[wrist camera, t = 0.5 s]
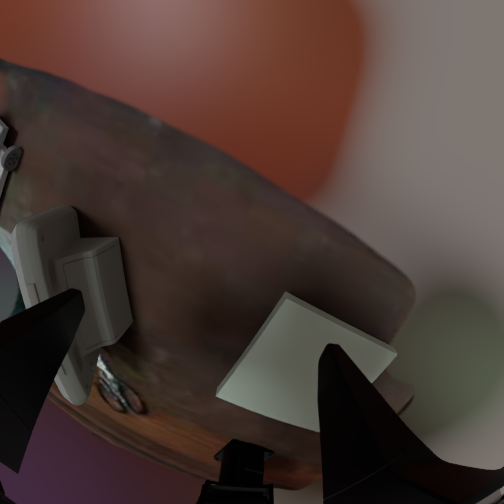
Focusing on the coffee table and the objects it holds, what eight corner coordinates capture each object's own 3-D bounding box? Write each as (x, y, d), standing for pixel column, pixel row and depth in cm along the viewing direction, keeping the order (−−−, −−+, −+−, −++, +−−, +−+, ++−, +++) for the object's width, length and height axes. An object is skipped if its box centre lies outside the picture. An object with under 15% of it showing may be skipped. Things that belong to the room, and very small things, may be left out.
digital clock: (64, 195, 23) (-16, 216, 13) (139, 207, 23) (62, 237, 13) (71, 332, 28) (21, 383, 17) (135, 355, 28) (93, 422, 17)
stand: (315, 406, 28) (319, 432, 25) (221, 369, 27) (215, 396, 23) (383, 331, 25) (397, 354, 21) (283, 277, 24) (286, 298, 20)
